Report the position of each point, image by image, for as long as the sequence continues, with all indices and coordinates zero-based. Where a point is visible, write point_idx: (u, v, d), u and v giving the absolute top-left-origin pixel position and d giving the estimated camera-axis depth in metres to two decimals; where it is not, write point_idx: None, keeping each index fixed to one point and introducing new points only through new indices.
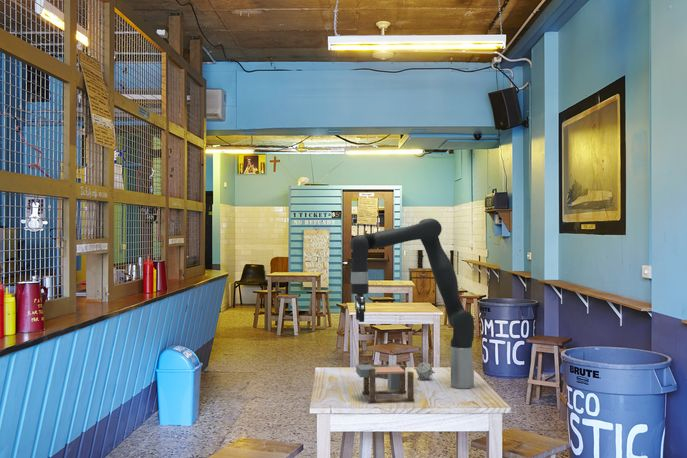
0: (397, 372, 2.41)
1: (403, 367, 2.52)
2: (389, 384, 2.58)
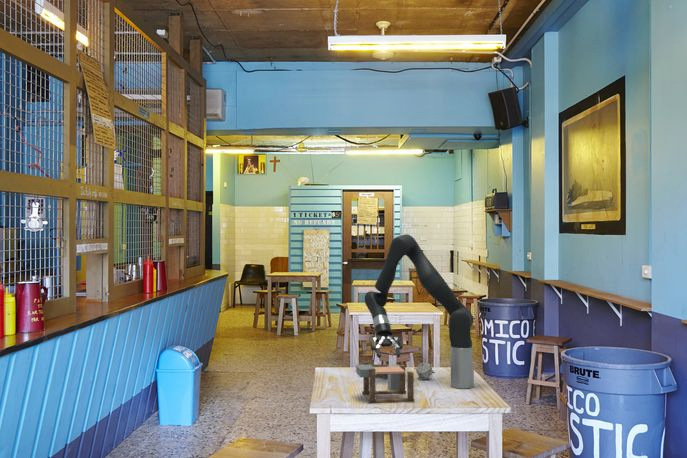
0: (397, 372, 2.41)
1: (403, 367, 2.52)
2: (389, 384, 2.58)
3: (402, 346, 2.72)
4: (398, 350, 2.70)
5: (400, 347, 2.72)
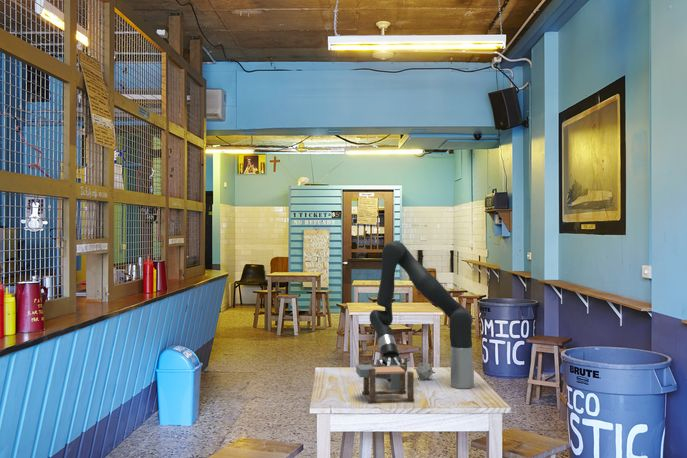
0: (397, 372, 2.41)
1: (403, 367, 2.52)
2: (389, 384, 2.58)
3: (406, 369, 2.61)
4: None
5: None
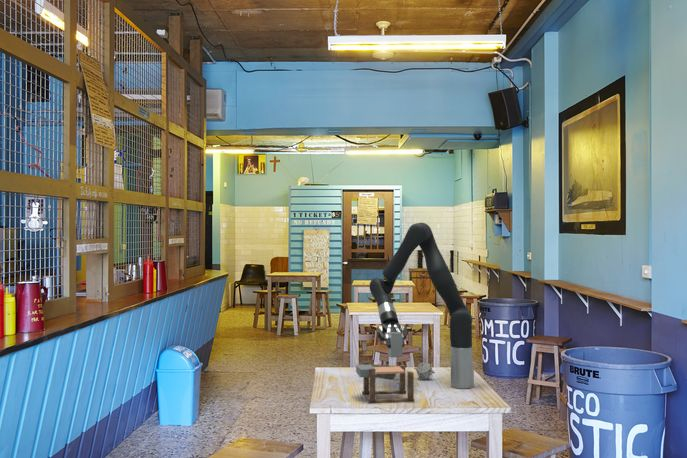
0: (397, 372, 2.41)
1: (403, 367, 2.52)
2: (389, 350, 2.59)
3: (406, 336, 2.62)
4: (402, 340, 2.60)
5: (404, 337, 2.61)
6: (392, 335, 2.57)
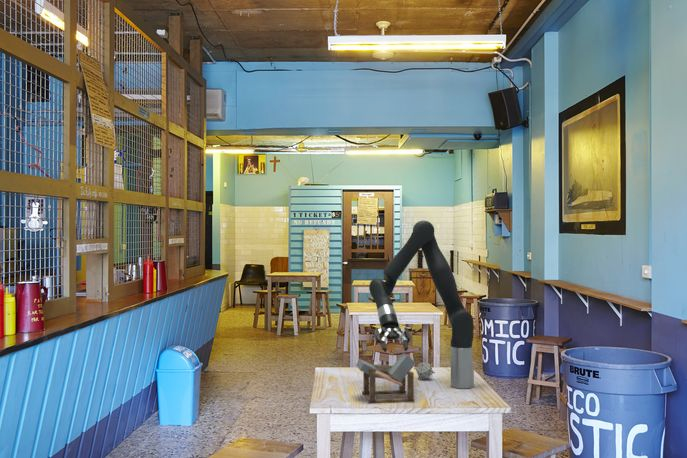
0: (395, 382, 2.41)
1: None
2: (393, 368, 2.46)
3: (410, 338, 2.49)
4: (405, 343, 2.47)
5: (408, 340, 2.49)
6: (407, 357, 2.45)
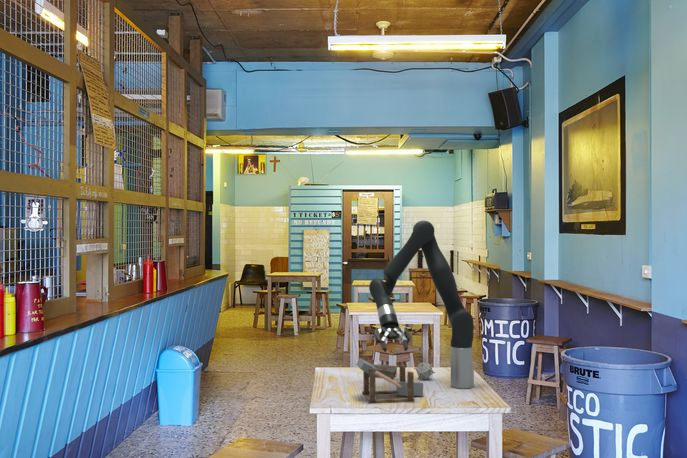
0: (394, 383, 2.41)
1: (403, 367, 2.52)
2: (403, 382, 2.48)
3: (410, 338, 2.49)
4: (405, 343, 2.47)
5: (408, 340, 2.49)
6: (421, 384, 2.47)
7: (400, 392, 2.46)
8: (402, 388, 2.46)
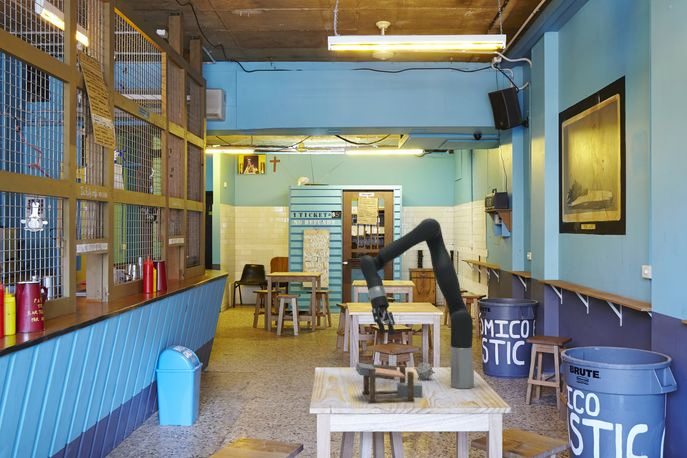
0: (397, 375, 2.41)
1: (403, 367, 2.52)
2: (403, 384, 2.48)
3: (394, 324, 2.69)
4: (393, 328, 2.66)
5: None
6: (420, 387, 2.46)
7: (399, 395, 2.46)
8: (400, 391, 2.46)
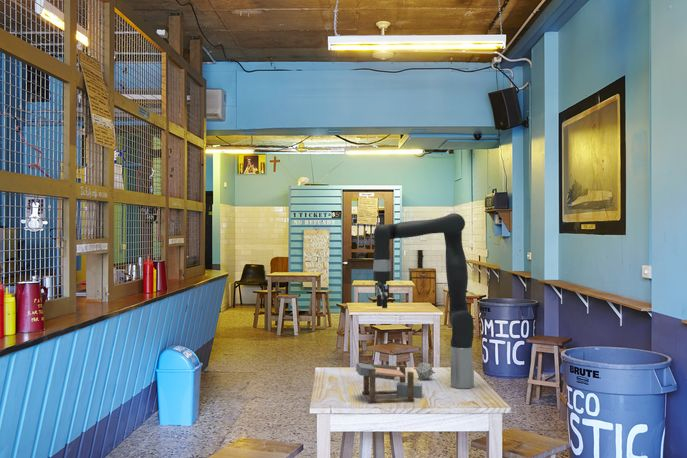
0: (397, 375, 2.41)
1: (403, 367, 2.52)
2: (403, 384, 2.49)
3: None
4: None
5: None
6: (419, 387, 2.45)
7: (398, 394, 2.47)
8: (400, 390, 2.47)
